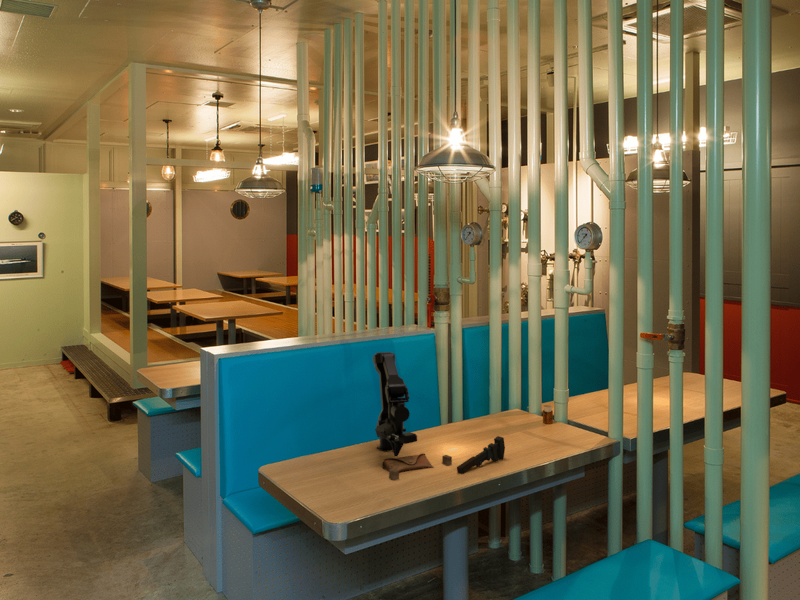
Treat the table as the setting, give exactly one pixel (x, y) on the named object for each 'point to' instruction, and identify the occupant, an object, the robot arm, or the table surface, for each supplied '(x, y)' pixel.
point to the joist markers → (395, 473)
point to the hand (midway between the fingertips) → (396, 456)
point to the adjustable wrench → (485, 455)
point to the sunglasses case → (407, 463)
